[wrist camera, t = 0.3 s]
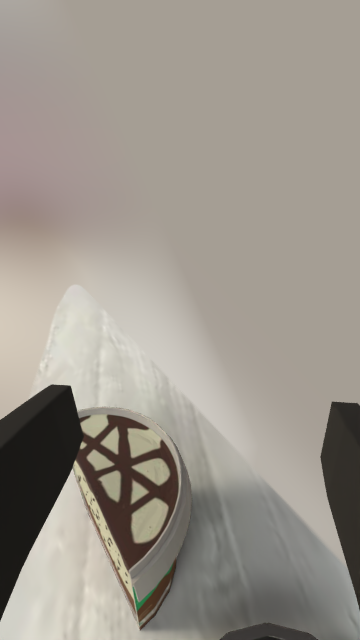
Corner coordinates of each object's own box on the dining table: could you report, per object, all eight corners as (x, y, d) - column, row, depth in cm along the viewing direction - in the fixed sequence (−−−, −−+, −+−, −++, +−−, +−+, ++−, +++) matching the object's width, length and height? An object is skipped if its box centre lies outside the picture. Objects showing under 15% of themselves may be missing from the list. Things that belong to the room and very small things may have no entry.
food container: (229, 586, 23) (237, 504, 18) (152, 657, 20) (134, 583, 15) (142, 458, 32) (131, 378, 27) (80, 495, 29) (53, 413, 24)
